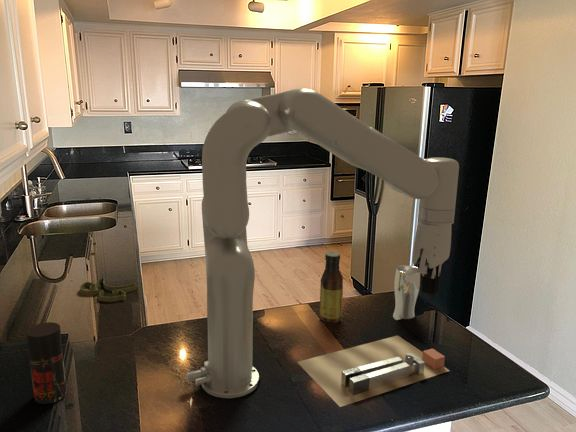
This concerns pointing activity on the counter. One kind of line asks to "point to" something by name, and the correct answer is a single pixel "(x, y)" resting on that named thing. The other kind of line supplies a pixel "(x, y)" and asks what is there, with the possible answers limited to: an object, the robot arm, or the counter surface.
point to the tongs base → (386, 375)
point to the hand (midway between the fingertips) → (429, 292)
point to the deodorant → (46, 361)
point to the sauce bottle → (331, 289)
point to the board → (331, 365)
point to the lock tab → (433, 358)
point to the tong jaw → (368, 369)
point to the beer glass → (406, 291)
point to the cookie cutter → (117, 291)
